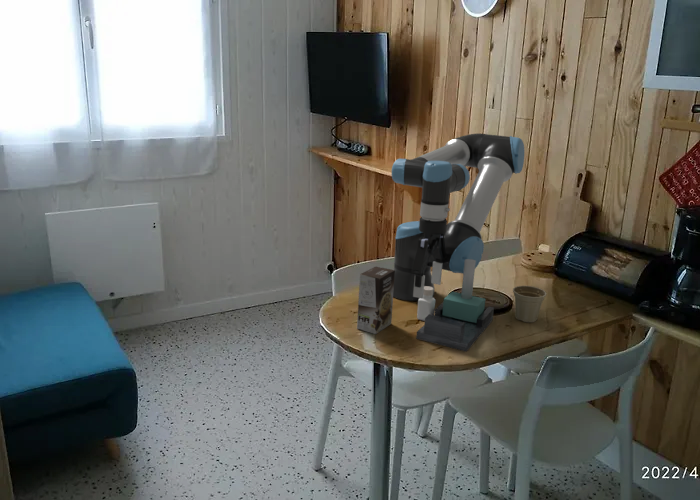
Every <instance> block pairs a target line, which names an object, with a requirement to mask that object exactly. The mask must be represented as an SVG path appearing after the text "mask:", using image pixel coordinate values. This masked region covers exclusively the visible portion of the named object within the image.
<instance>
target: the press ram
mask: <svg viewBox="0 0 700 500" xmlns="http://www.w3.org/2000/svg"><path fill="white" fill-rule="evenodd" d="M475 263H476V261H475V260H473V259H465V263H464V273H463V274H462V284H461V292H460V293H459V292H456V291H451V292H450V293H449V294H447V296H445V297H444V298H443V301H442V303H443V313H442V315H444V316H448V317H452V318H456V319H460V320H465V321H469V322H473V323H477V319H478V318H479V317H480V316H481V314H482V313H483V312H484V311H485V307H486V298H483V297H479V296H474V295H473V288H474V282H475V281H474V280H475V271H476V269H475Z"/></svg>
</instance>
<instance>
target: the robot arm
mask: <svg viewBox="0 0 700 500" xmlns="http://www.w3.org/2000/svg"><path fill="white" fill-rule="evenodd" d="M524 164H525V144H524V141H523V139H522V138H520V137H515V136H512V135H509V136H506V135H498V134H488V133H471V134H466V135H462V136H459V137H455V138H453V139H451V140H449V141H447V142H446V143H445V145H444V146H441V147H439V148H437V149H434V150H432V151H430V152H427V153H424V154H422V155H420V156H417V157H415V158H412V159H408V158H397V159H395V161H394V162H393V164H392V166H391V178H392V181H393V182H394V183H396V184H400V185H403V186H410V187H417V188H421V189H422V190H421V201H420V209H419V210H420V211H419V216H420V218H419V220H418V221H417V220H414V221H413V220H412V221H407V222H403V223H401V224H399V225H398V226H397V228H396V231H395V232H396V233H395V234H396V235H395V238H394V239H395V244H394V245H395V246H394V249H395V250H394V259H393V260H394V263H393V270H395V276H394V290H393V298H395V299H398V300H402V301H410V302H418V300H419V298H421V299H422V298H423V294H424V286H429V287H433V297H434V296H435V285H439V286H440V285H441V283H442V273H443V271H449V272H452V273H455V274H462V275H463V273H464V263H465V259H473V260H475V261H476V263H475V270H476V269H477V267H478V266H479V264H480V262H481V260H482V256H483V253H484V249H485V247H484V246H485V245H484V240H482V238H483V237H482V233H481V231H482V228H483V226H484V224H485V222H486V220H487V217H488V216H489V214H490V212H491V210H492V207H493V206H494V203H495V200H496V199H497V197H498V194H499V192H500V190H501V188H502V186H503V184H504V183H505V182H508V181H509V180H511V178H512V176H513V174H520V173H521V172H522V170H523V169H524V168H523V167H524ZM467 167H470V168H476V169H478V173H477V175H476V177H475V179H474V181H473V183H472V185H471V187H470V188H469V191H468V192H467V195H466V197H465V199H464V201H463V203H462V205H461V206H460V208H459V211H458V213H457V214H456V217H455V219H454V220H452V221H449V222H448V220H447V218H448V213H449V212H450V211H451V210H450V208H449V204H450V195H451V193H452V194H453V193H454V192H459V191H461V190H463V189H464V188H466V187H467V186H468V184H469V183H470V178H471V177H470V176H471V174H470V172H469V170H468V168H467Z"/></svg>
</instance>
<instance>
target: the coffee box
mask: <svg viewBox="0 0 700 500" xmlns="http://www.w3.org/2000/svg"><path fill="white" fill-rule="evenodd" d="M394 276H395V270H394V269H390V268H387V267H380V266H373V267H372V268H370V269H367V270H365V271H363V272H362V273H359V285H358V286H359V288H358V290H359V291H358V305H357V306H358V307H357V319H356V320H357V322H356V329H357V330H362V331H364V332H366V333H367V332H368V333H371V334H373V335H377V334H379V333H380V332H381V331H383V330H384V329H386V328H387V327H388V326H390V325H391V324H392V322H393V321H392V318H393V306H394V305H393V304H394V303H393V301H394V297H393V290H394Z"/></svg>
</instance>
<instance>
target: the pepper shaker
mask: <svg viewBox="0 0 700 500" xmlns="http://www.w3.org/2000/svg"><path fill="white" fill-rule="evenodd" d="M435 309H436V299H435V297H434V296H433V287H429V286H424V294H423V298H422V299H421V298H419V300H418V301H417V312H416V313H417V315H416V318H417V320H421V321H424V322H425V318H426V317H427V316H428V315H429V314H430V315H435Z"/></svg>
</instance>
